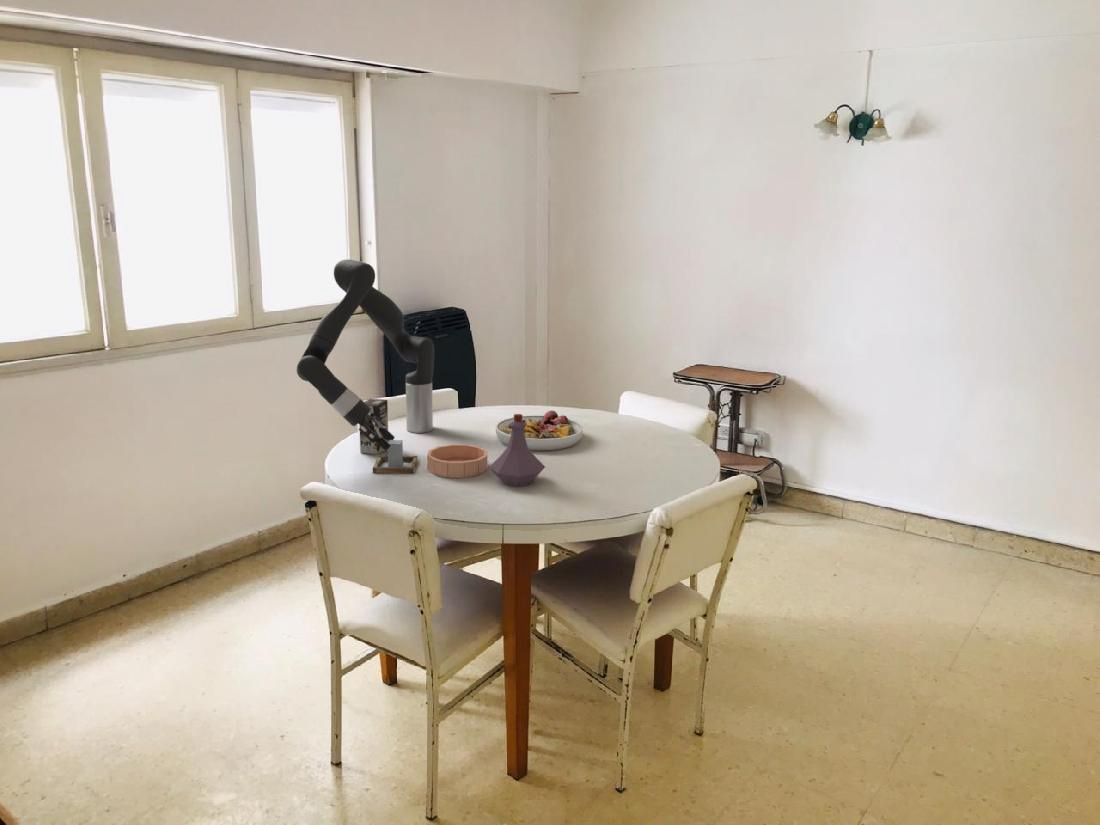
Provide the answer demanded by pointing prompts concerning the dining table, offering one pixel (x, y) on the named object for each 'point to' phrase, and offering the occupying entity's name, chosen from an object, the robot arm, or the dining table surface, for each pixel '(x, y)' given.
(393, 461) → the block
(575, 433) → the bowl
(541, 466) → the flask
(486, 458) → the bowl
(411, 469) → the tray frame
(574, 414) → the dining table surface
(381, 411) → the coffee box
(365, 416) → the robot arm
